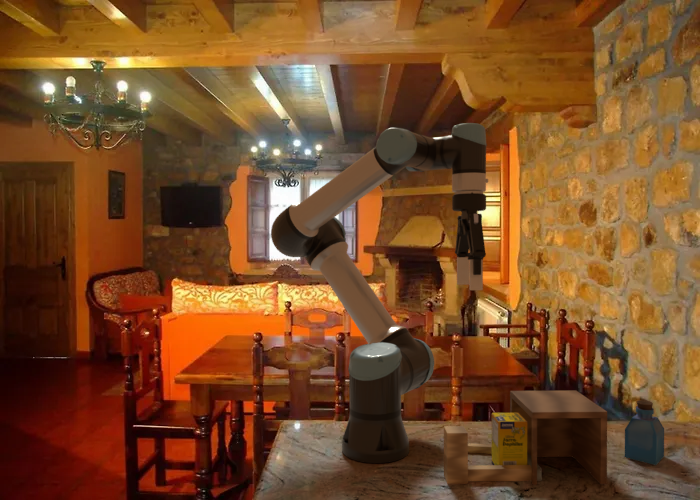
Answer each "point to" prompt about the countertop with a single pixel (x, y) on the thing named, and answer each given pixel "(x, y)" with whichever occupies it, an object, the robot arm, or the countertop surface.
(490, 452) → the plain oak stick
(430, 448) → the countertop surface
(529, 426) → the walnut box
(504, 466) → the oak crook
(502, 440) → the supplement box
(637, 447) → the perfume bottle
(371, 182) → the robot arm
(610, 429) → the countertop surface
